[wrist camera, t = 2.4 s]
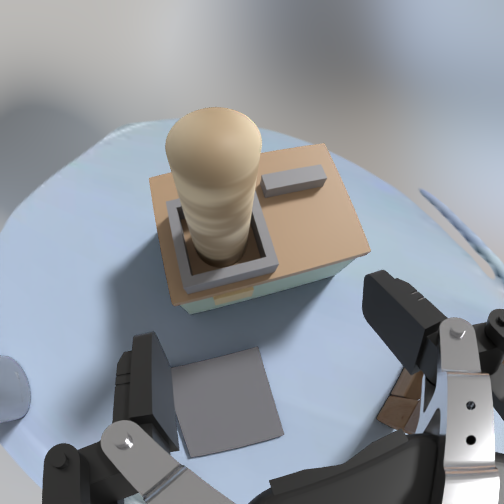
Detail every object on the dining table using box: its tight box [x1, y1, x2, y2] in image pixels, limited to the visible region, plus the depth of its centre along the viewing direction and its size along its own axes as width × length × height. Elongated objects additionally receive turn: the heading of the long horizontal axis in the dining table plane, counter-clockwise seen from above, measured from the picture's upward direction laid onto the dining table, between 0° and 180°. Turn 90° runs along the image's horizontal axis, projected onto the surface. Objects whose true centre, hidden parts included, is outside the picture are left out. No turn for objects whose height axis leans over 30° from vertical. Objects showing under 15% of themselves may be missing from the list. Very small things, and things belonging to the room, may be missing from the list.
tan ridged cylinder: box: [165, 107, 262, 267], centre depth 21 cm, size 5×5×14 cm
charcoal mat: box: [170, 347, 284, 457], centre depth 32 cm, size 11×11×1 cm
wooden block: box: [377, 360, 504, 434], centre depth 25 cm, size 4×11×18 cm, turn 146°
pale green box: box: [149, 143, 371, 315], centre depth 32 cm, size 19×13×13 cm
